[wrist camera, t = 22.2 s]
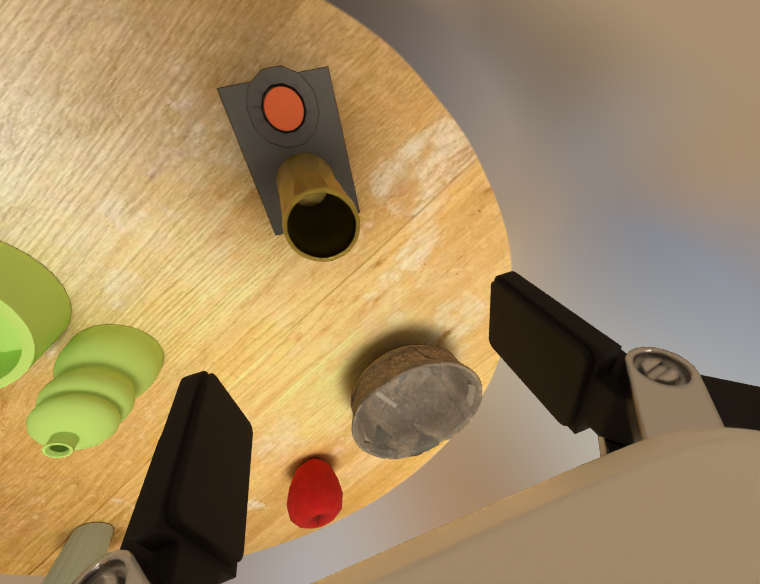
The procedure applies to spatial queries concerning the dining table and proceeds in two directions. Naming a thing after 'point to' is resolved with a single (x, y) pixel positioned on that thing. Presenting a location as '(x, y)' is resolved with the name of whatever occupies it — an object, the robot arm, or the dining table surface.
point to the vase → (315, 209)
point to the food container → (69, 359)
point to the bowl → (412, 401)
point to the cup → (80, 552)
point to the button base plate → (273, 145)
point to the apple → (314, 495)
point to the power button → (283, 108)
